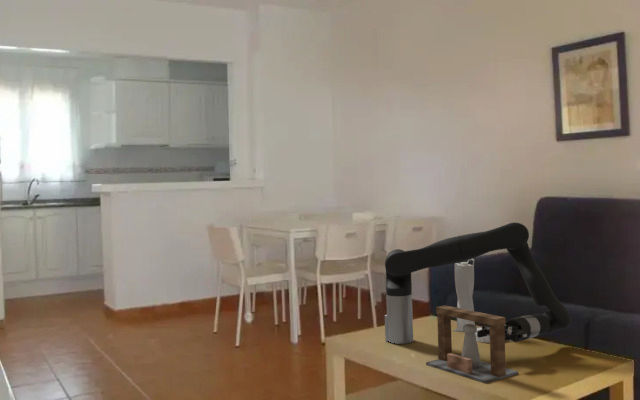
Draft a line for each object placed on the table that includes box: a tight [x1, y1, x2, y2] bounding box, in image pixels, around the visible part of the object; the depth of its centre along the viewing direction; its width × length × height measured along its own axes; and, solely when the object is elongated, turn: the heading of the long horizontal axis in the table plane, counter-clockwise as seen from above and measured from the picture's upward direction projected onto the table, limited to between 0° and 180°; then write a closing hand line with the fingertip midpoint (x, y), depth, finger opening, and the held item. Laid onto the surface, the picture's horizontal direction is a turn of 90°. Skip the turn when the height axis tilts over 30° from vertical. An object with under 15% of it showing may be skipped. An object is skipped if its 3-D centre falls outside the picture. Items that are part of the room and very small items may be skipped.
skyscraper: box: [452, 258, 476, 333], centre depth 258 cm, size 8×8×28 cm
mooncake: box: [475, 326, 490, 344], centre depth 245 cm, size 12×12×4 cm
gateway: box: [425, 304, 519, 384], centre depth 208 cm, size 25×14×18 cm, turn 34°
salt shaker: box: [461, 324, 481, 368], centre depth 208 cm, size 6×6×13 cm
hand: (488, 336), depth 212 cm, fingers open, 8 cm apart
